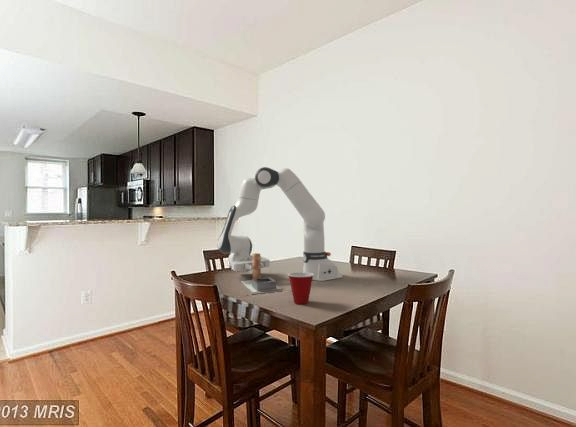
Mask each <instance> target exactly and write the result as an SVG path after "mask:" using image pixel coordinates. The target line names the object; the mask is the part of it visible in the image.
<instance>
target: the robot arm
mask: <svg viewBox="0 0 576 427" xmlns="http://www.w3.org/2000/svg"><path fill="white" fill-rule="evenodd" d="M276 186H277V187H279V188H280V189H281V191H282V192H283V194H284V195H285V196H286V198H287V199H288V200H289V201H290V203H291V204H292V205H293V207H294V208H295V209H296V211H297V213H298V214H299V215H300V216H301V218H302V219H303V252H302V253H303V257H302V258H303V268H302V273H313V274H314V276H313V279H312V281H318V282H323V281H330V280H336V279H342V278H343V277H344V276H343V274H342V273H339V268H338V265H337V264H336V263H335V262H333V261H332V260H331V259H330V258H328V257H331V256H332V254H331V252H327V251H325V230H324V229H325V227H324V222H325V220H326V213H325V211H324V210H323V208H322V207H321V205H320V204H319V202H317V200H316V199H315V197H313V195H312V194H311V193H310V192H309V190H308V189H307V188H306V186H305V185H304V184H303V181H301V180H300V178H299V177H298V176H297V175H296V173H294V172H293V171H292V170H291V169H290V168H283V169H281V170H279V171H277V170H275V169H273V168H270V167H267V166H266V167H265V166H264V167H260V168H259V169H258V170H257V171H256V173H255V176H254V177H253V178H252V177H247V178H244V179H243V180H242V183H241V185H240V188H239V192H238V197H237V198H238V199H237V200H236V202H235V204H234V205H232V206H230V209H229V211H228V213H227V216H226V219H225V222H224V225H223V228H222V231H221V234H220V236H219V238H218V240H217V249H218V250H219V252H220V253H222V254H223V255H225V254H226V255H227V254H229V255H228V262H229V264H228V267H230V268H231V269H230V270H231V271H234V272H239V271H242V272H250V271H253V270H252V269H254V268H253V267H254V266H253V265H252V251H253V243H252V240H251V239H250V238H249V237H248V236H244V235H232V232H233V229H234V226H235V223H236V221H237V220H238V219H240V218H242V217H245V216H248V215H251V214H253V213H254V212H256V210H257V209H258V205H259V199H260V194H261V191H262V190H265V189H272V188H274V187H276ZM270 261H271V260H270V259H269V258H266V257H263V256H261V255H260V264H261V269H263V268H269V267H270V266H271V262H270Z"/></svg>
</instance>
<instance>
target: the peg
mask: <svg viewBox="0 0 576 427" xmlns="http://www.w3.org/2000/svg"><path fill="white" fill-rule="evenodd" d="M251 255H252V265H253V266H254V267H253V268H254V269H252V270H251V271H252V279H258V278H262V277H261V274H262V273H261V270H262V268H261V264H260V256H261V253H251Z"/></svg>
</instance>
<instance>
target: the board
mask: <svg viewBox="0 0 576 427" xmlns="http://www.w3.org/2000/svg"><path fill="white" fill-rule="evenodd" d="M240 282H241V283H242V284H243V286H244V287H246V288H247V289H248V290H249V291H250V292H251V294H252V295H251V296H258V294H260V295H266V293H268V294H274V293H275V292H277V293H282V292H283V291H282V290H283V289H282V287H280V286H279V285H277V281H276V280H275V279H274V278H272V277H270V276H267V277H261V278H258V279H253V278H252V279H250V280H241V281H240ZM281 289H282V290H281ZM274 290H275V291H274ZM267 291H268V292H267ZM256 292H257V293H256Z"/></svg>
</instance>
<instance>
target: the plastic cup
mask: <svg viewBox="0 0 576 427" xmlns="http://www.w3.org/2000/svg"><path fill="white" fill-rule="evenodd" d="M287 276H288V277H289V278H288V280H289V282H290V288H291V292H292V293H291V295H292V298H293V299H292V300H293V302H294V304H295V305H307V304H308V303H309V301H310V295H311V288H312V282H313V280H312V279H313V276H314V274H313V273H303V271H302V272H289V273H287Z"/></svg>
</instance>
